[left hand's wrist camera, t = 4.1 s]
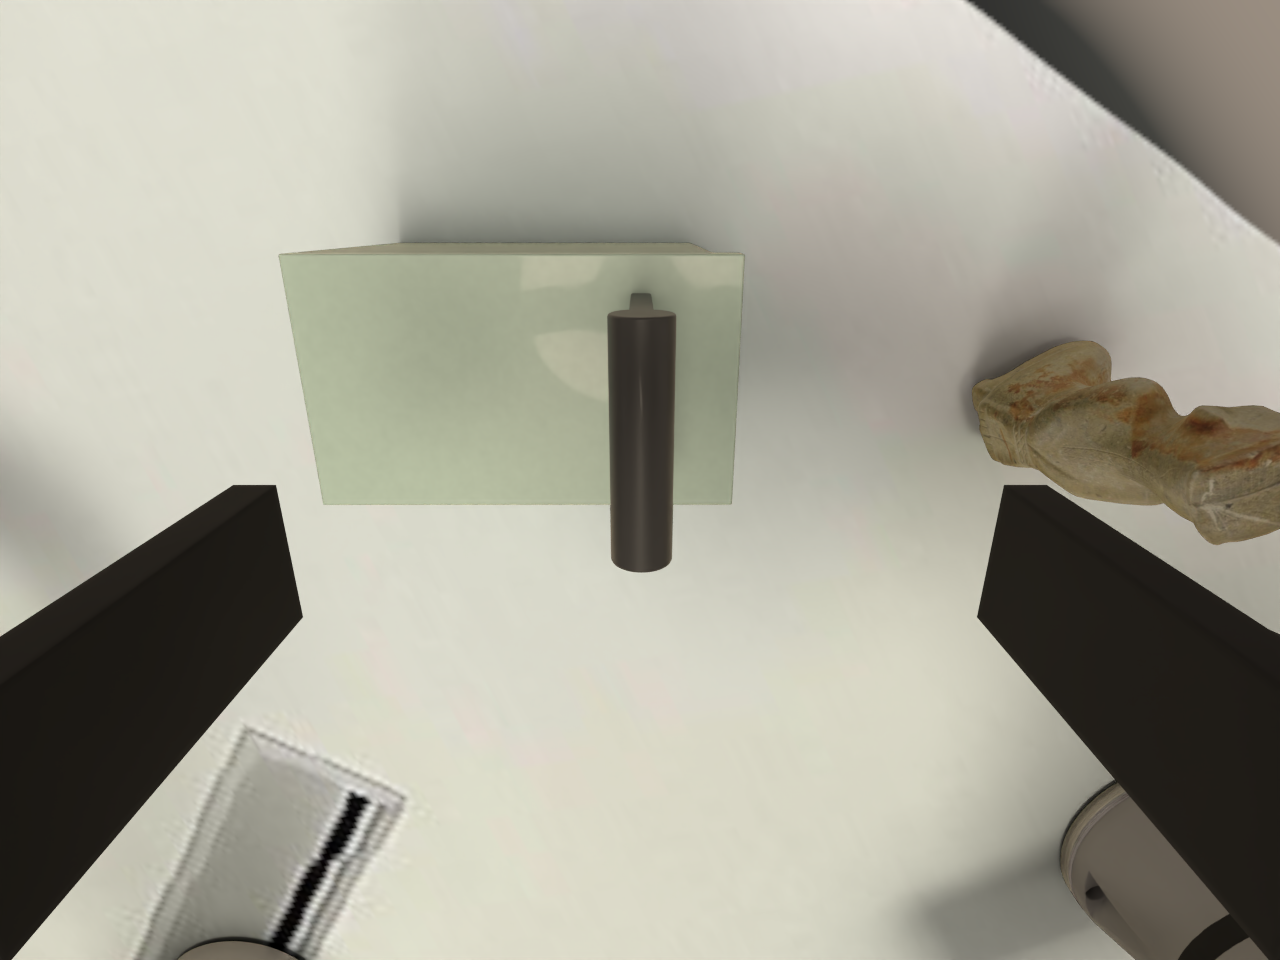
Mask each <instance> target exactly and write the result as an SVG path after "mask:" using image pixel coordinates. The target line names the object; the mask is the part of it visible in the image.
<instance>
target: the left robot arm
mask: <svg viewBox="0 0 1280 960" xmlns="http://www.w3.org/2000/svg"><path fill="white" fill-rule="evenodd" d="M302 618H303V615H302V610H301V605H300V601H299V596H298V591H297V586H296V581H295V576H294V571H293V566H292V562H291V557H290V552H289V547H288V542H287V537H286V532H285V527H284V523H283V518H282V513H281V508H280V503H279V498H278V493H277V488H276V485H233V486H231V487H230V488H228V489H227V490H225V491H224V492H222V493H220V494H219V495H217V496H216V497H214V498H213V499H211V500H210V501H208V502H207V503H205V504H204V505H202V506H200V507H199V508H197V509H196V510H194V511H193V512H191V513H190V514H188V515H187V516H185V517H184V518H182V519H180V520H179V521H177V522H176V523H174V524H173V525H171V526H170V527H168V528H167V529H165V530H164V531H162V532H161V533H159V534H157V535H156V536H154V537H153V538H151V539H150V540H148V541H147V542H145V543H144V544H142V545H141V546H139V547H137V548H136V549H134V550H133V551H131V552H130V553H128V554H127V555H125V556H124V557H122V558H121V559H119V560H117V561H116V562H114V563H113V564H111V565H110V566H108V567H107V568H105V569H104V570H102V571H101V572H99V573H97V574H96V575H94V576H93V577H91V578H90V579H88V580H87V581H85V582H84V583H82V584H81V585H79V586H77V587H76V588H74V589H73V590H71V591H70V592H68V593H67V594H65V595H64V596H62V597H61V598H59V599H57V600H56V601H54V602H53V603H51V604H50V605H48V606H47V607H45V608H44V609H42V610H41V611H39V612H37V613H36V614H34V615H33V616H31V617H30V618H28V619H27V620H25V621H24V622H22V623H21V624H19V625H17V626H16V627H14V628H13V629H11V630H10V631H8V632H7V633H5V634H4V635H2V636H1V637H0V960H12V959H13V957H14V956H15V955H16V954H17V953H18V951H19V950H20V949H21V948H22V947H23V946H24V944H25V943H26V942H27V941H28V940H29V939H30V937H31V936H32V935H33V934H34V933H35V931H36V930H37V929H38V928H39V927H40V926H41V924H42V923H43V922H44V921H45V920H46V919H47V917H48V916H49V915H50V914H51V913H52V911H53V910H54V909H55V908H56V907H57V906H58V904H59V903H60V902H61V901H62V900H63V899H64V897H65V896H66V895H67V894H68V893H69V891H70V890H71V889H72V888H73V887H74V886H75V884H76V883H77V882H78V881H79V880H80V879H81V877H82V876H83V875H84V874H85V873H86V871H87V870H88V869H89V868H90V867H91V866H92V864H93V863H94V862H95V861H96V860H97V859H98V857H99V856H100V855H101V854H102V853H103V852H104V850H105V849H106V848H107V847H108V846H109V844H110V843H111V842H112V841H113V840H114V839H115V837H116V836H117V835H118V834H119V833H120V832H121V830H122V829H123V828H124V827H125V826H126V824H127V823H128V822H129V821H130V820H131V819H132V817H133V816H134V815H135V814H136V813H137V812H138V810H139V809H140V808H141V807H142V806H143V804H144V803H145V802H146V801H147V800H148V799H149V797H150V796H151V795H152V794H153V793H154V792H155V790H156V789H157V788H158V787H159V786H160V784H161V783H162V782H163V781H164V780H165V779H166V777H167V776H168V775H169V774H170V773H171V772H172V770H173V769H174V768H175V767H176V766H177V765H178V763H179V762H180V761H181V760H182V759H183V757H184V756H185V755H186V754H187V753H188V752H189V750H190V749H191V748H192V747H193V746H194V745H195V743H196V742H197V741H198V740H199V739H200V737H201V736H202V735H203V734H204V733H205V732H206V730H207V729H208V728H209V727H210V726H211V725H212V723H213V722H214V721H215V720H216V719H217V717H218V716H219V715H220V714H221V713H222V712H223V710H224V709H225V708H226V707H227V706H228V705H229V703H230V702H231V701H232V700H233V699H234V697H235V696H236V695H237V694H238V693H239V692H240V690H241V689H242V688H243V687H244V686H245V685H246V683H247V682H248V681H249V680H250V679H251V677H252V676H253V675H254V674H255V673H256V672H257V670H258V669H259V668H260V667H261V666H262V665H263V663H264V662H265V661H266V660H267V659H268V658H269V656H270V655H271V654H272V653H273V652H274V650H275V649H276V648H277V647H278V646H279V645H280V643H281V642H282V641H283V640H284V639H285V638H286V636H287V635H288V634H289V633H290V632H291V630H292V629H293V628H294V627H295V626H296V625H297V623H298V622H299V621H300V620H301V619H302ZM977 618H978V619H979V620H980V621H981V622H982V623H983V625H984V626H985V627H986V628H987V629H988V630H989V632H990V633H991V634H992V635H993V636H994V638H995V639H996V640H997V641H998V642H999V643H1000V645H1001V646H1002V647H1003V648H1004V649H1005V650H1006V652H1007V653H1008V654H1009V655H1010V656H1011V658H1012V659H1013V660H1014V661H1015V662H1016V663H1017V665H1018V666H1019V667H1020V668H1021V669H1022V670H1023V672H1024V673H1025V674H1026V675H1027V676H1028V677H1029V679H1030V680H1031V681H1032V682H1033V683H1034V685H1035V686H1036V687H1037V688H1038V689H1039V690H1040V692H1041V693H1042V694H1043V695H1044V696H1045V697H1046V699H1047V700H1048V701H1049V702H1050V703H1051V705H1052V706H1053V707H1054V708H1055V709H1056V710H1057V712H1058V713H1059V714H1060V715H1061V716H1062V717H1063V719H1064V720H1065V721H1066V722H1067V723H1068V725H1069V726H1070V727H1071V728H1072V729H1073V730H1074V732H1075V733H1076V734H1077V735H1078V736H1079V737H1080V739H1081V740H1082V741H1083V742H1084V743H1085V745H1086V746H1087V747H1088V748H1089V749H1090V750H1091V752H1092V753H1093V754H1094V755H1095V756H1096V757H1097V759H1098V760H1099V761H1100V762H1101V763H1102V765H1103V766H1104V767H1105V768H1106V769H1107V770H1108V772H1109V773H1110V774H1111V775H1112V776H1113V777H1114V779H1115V780H1116V781H1117V783H1116V784H1114V785H1113V786H1111V787H1109V788H1108V789H1106V790H1105V791H1104V792H1102V793H1101V794H1100V795H1098V796H1097V797H1096V798H1095V799H1094V800H1092V801H1091V802H1090V803H1089V804H1088V805H1087V806H1086V807H1085V808H1084V809H1083V810H1082V811H1081V813H1080V814H1079V815H1078V816H1077V818H1076V819H1075V820H1074V822H1073V823H1072V825H1071V826H1070V828H1069V830H1068V832H1067V834H1066V837H1065V839H1064V842H1063V845H1062V849H1061V856H1060V865H1061V872H1062V875H1063V878H1064V880H1065V883H1066V885H1067V886H1068V888H1069V889H1070V891H1071V893H1072V894H1073V896H1074V897H1075V899H1076V900H1077V902H1078V903H1079V905H1080V906H1081V907H1082V909H1083V910H1084V911H1085V912H1086V913H1087V915H1088V916H1089V917H1090V918H1091V919H1092V920H1093V922H1094V923H1095V924H1096V925H1098V926H1099V927H1100V928H1101V929H1102V930H1103V931H1104V932H1105V933H1106V934H1108V935H1109V936H1110V937H1111V938H1112V939H1113V940H1114V941H1115V942H1116V943H1118V944H1119V945H1120V946H1121V947H1122V948H1123V949H1124V950H1125V951H1126V952H1128V953H1129V954H1130V955H1131V956H1132V957H1133V958H1134V959H1135V960H1280V634H1278V633H1275V632H1273V631H1271V630H1269V629H1267V628H1266V627H1264V626H1263V625H1261V624H1259V623H1258V622H1256V621H1255V620H1253V619H1252V618H1250V617H1249V616H1247V615H1246V614H1244V613H1243V612H1241V611H1239V610H1238V609H1236V608H1235V607H1233V606H1232V605H1230V604H1229V603H1227V602H1226V601H1224V600H1223V599H1221V598H1219V597H1218V596H1216V595H1215V594H1213V593H1212V592H1210V591H1209V590H1207V589H1206V588H1204V587H1203V586H1201V585H1199V584H1198V583H1196V582H1195V581H1193V580H1192V579H1190V578H1189V577H1187V576H1186V575H1184V574H1183V573H1181V572H1179V571H1178V570H1176V569H1175V568H1173V567H1172V566H1170V565H1169V564H1167V563H1166V562H1164V561H1163V560H1161V559H1159V558H1158V557H1156V556H1155V555H1153V554H1152V553H1150V552H1149V551H1147V550H1146V549H1144V548H1143V547H1141V546H1139V545H1138V544H1136V543H1135V542H1133V541H1132V540H1130V539H1129V538H1127V537H1126V536H1124V535H1123V534H1121V533H1119V532H1118V531H1116V530H1115V529H1113V528H1112V527H1110V526H1109V525H1107V524H1106V523H1104V522H1103V521H1101V520H1100V519H1098V518H1096V517H1095V516H1093V515H1092V514H1090V513H1089V512H1087V511H1086V510H1084V509H1083V508H1081V507H1080V506H1078V505H1076V504H1075V503H1073V502H1072V501H1070V500H1069V499H1067V498H1066V497H1064V496H1063V495H1061V494H1060V493H1058V492H1056V491H1055V490H1053V489H1052V488H1050V487H1049V486H1047V485H1004V488H1003V493H1002V498H1001V503H1000V508H999V513H998V518H997V522H996V527H995V532H994V537H993V542H992V547H991V552H990V557H989V562H988V566H987V571H986V576H985V581H984V586H983V591H982V596H981V601H980V605H979V610H978V615H977Z"/></svg>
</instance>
